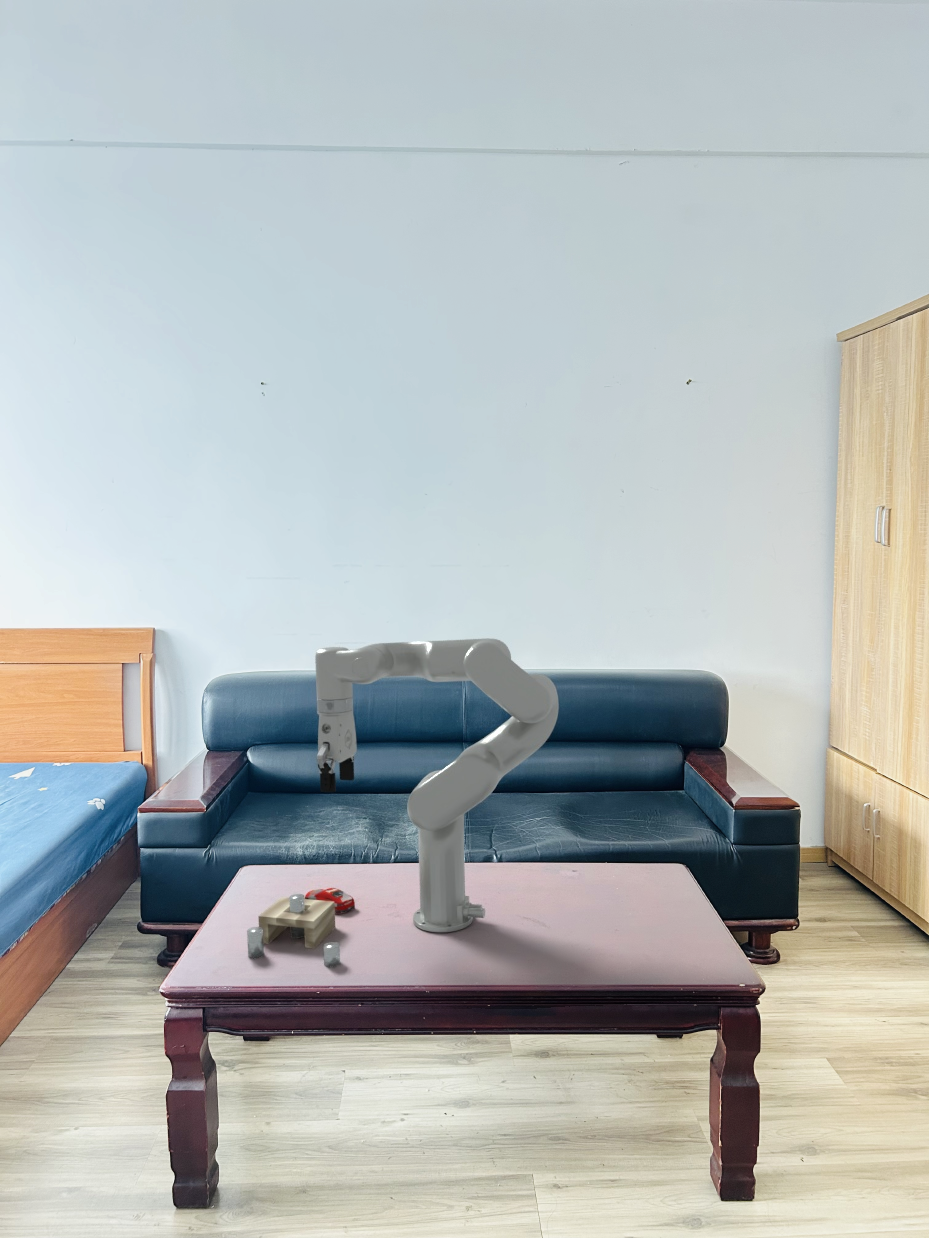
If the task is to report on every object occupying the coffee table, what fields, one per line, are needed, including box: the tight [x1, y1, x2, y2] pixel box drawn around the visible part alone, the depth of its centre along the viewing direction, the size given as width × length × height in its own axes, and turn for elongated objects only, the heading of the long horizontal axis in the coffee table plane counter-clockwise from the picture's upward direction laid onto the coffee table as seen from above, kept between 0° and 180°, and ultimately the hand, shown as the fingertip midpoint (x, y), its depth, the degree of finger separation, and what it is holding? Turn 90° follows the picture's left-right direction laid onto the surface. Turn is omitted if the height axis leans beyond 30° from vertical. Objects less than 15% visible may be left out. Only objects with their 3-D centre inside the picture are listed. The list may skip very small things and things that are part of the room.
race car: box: [304, 887, 356, 915], centre depth 191 cm, size 13×5×4 cm, turn 50°
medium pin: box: [246, 926, 265, 960], centre depth 168 cm, size 3×3×5 cm
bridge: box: [258, 896, 336, 949], centre depth 176 cm, size 12×10×6 cm
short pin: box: [323, 941, 341, 968], centre depth 164 cm, size 3×3×4 cm
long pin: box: [288, 893, 305, 939], centre depth 176 cm, size 3×3×8 cm
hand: (337, 785), depth 184 cm, fingers open, 9 cm apart
